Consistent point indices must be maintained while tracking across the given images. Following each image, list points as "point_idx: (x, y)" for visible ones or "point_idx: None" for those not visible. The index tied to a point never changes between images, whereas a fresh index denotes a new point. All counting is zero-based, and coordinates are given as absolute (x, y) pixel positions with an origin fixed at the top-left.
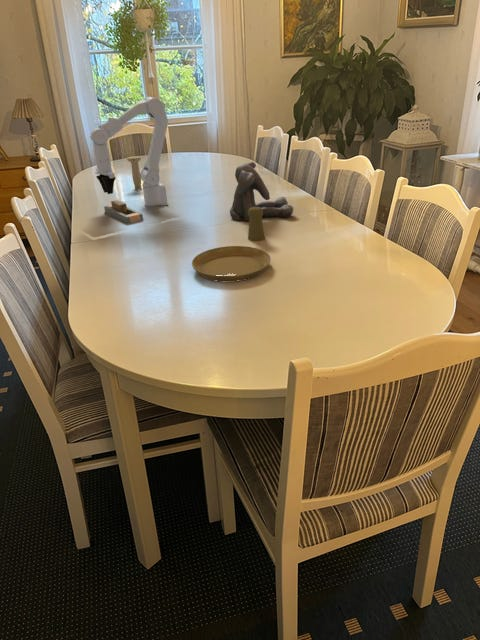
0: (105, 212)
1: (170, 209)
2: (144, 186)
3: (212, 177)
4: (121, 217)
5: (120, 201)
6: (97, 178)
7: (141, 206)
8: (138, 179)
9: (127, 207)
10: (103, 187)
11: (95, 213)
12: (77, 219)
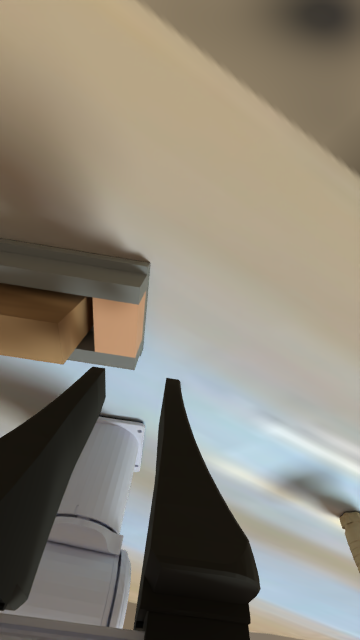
0: (139, 273)
1: None
2: (60, 519)
3: None
4: None
5: (13, 354)
6: (228, 522)
7: (137, 417)
8: (357, 557)
9: None
10: (163, 413)
11: (221, 248)
12: (208, 60)
